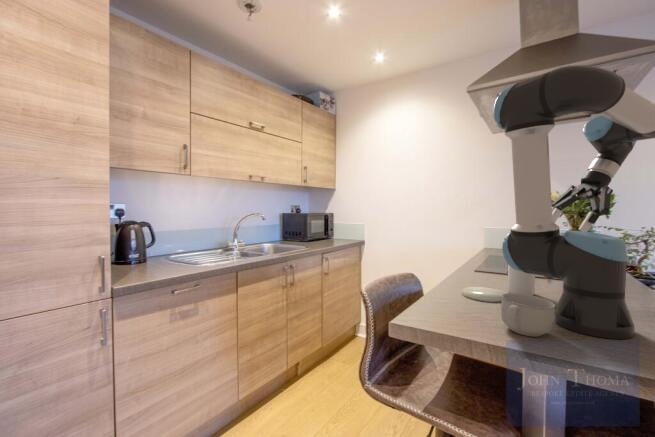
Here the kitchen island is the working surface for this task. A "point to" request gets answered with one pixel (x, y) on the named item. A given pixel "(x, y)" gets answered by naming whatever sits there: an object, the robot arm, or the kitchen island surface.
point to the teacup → (527, 314)
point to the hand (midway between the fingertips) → (564, 227)
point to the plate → (483, 294)
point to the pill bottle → (520, 282)
